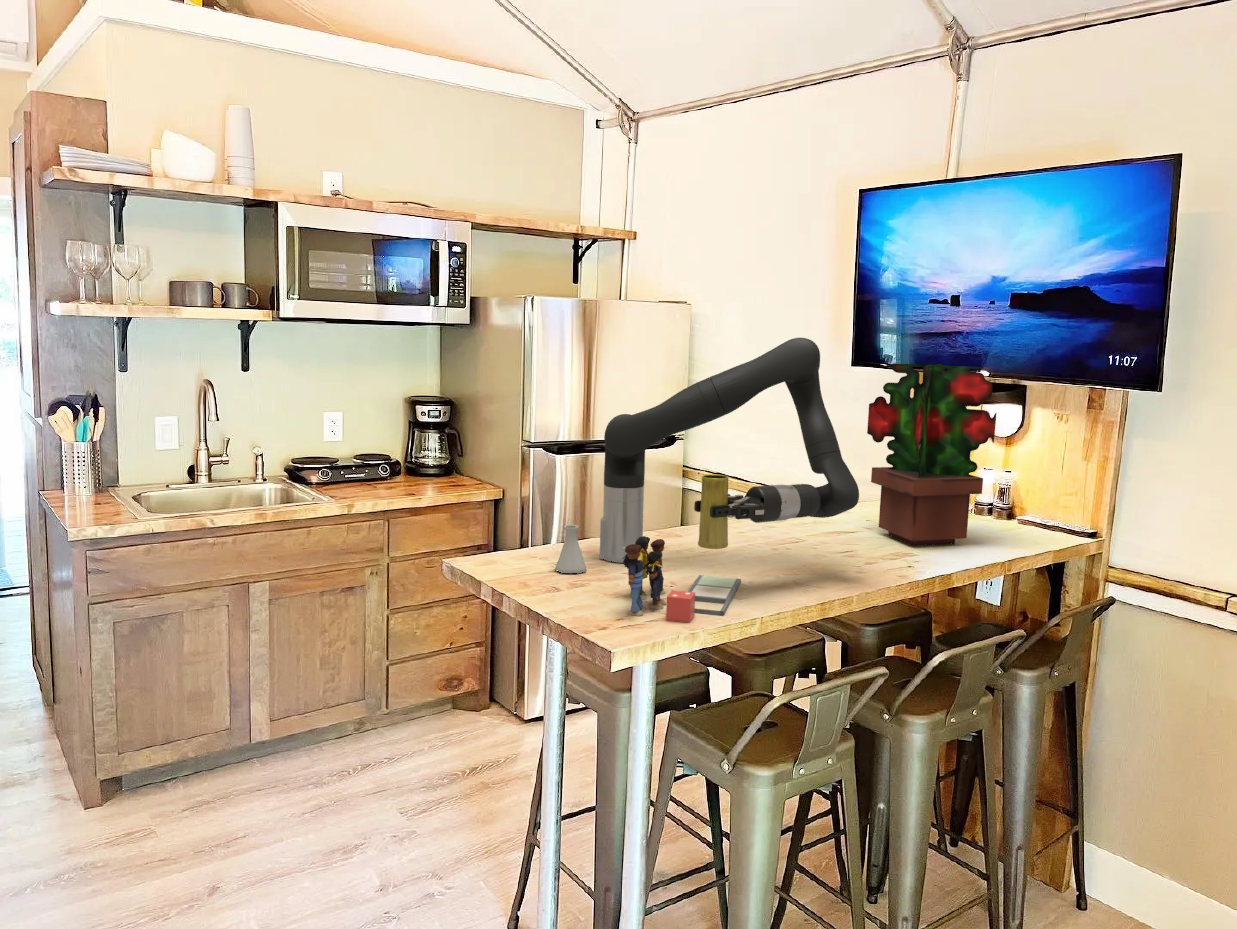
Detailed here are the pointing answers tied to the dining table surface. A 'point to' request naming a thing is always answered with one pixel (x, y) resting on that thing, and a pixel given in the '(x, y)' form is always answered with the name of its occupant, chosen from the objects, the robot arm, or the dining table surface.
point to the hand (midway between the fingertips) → (703, 509)
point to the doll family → (645, 573)
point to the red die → (680, 606)
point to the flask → (571, 553)
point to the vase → (710, 529)
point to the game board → (714, 592)
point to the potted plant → (930, 451)
